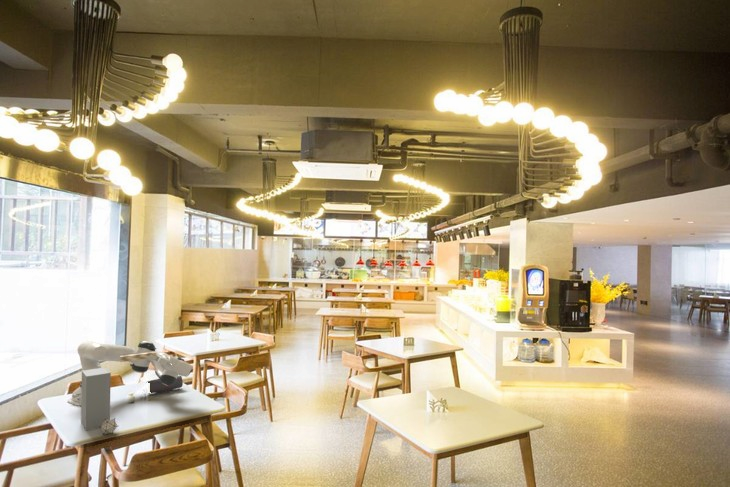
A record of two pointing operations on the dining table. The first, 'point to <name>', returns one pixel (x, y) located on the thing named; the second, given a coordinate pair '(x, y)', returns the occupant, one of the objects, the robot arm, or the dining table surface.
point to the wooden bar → (136, 356)
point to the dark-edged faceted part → (108, 426)
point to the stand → (95, 397)
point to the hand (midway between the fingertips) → (148, 354)
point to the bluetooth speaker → (161, 388)
